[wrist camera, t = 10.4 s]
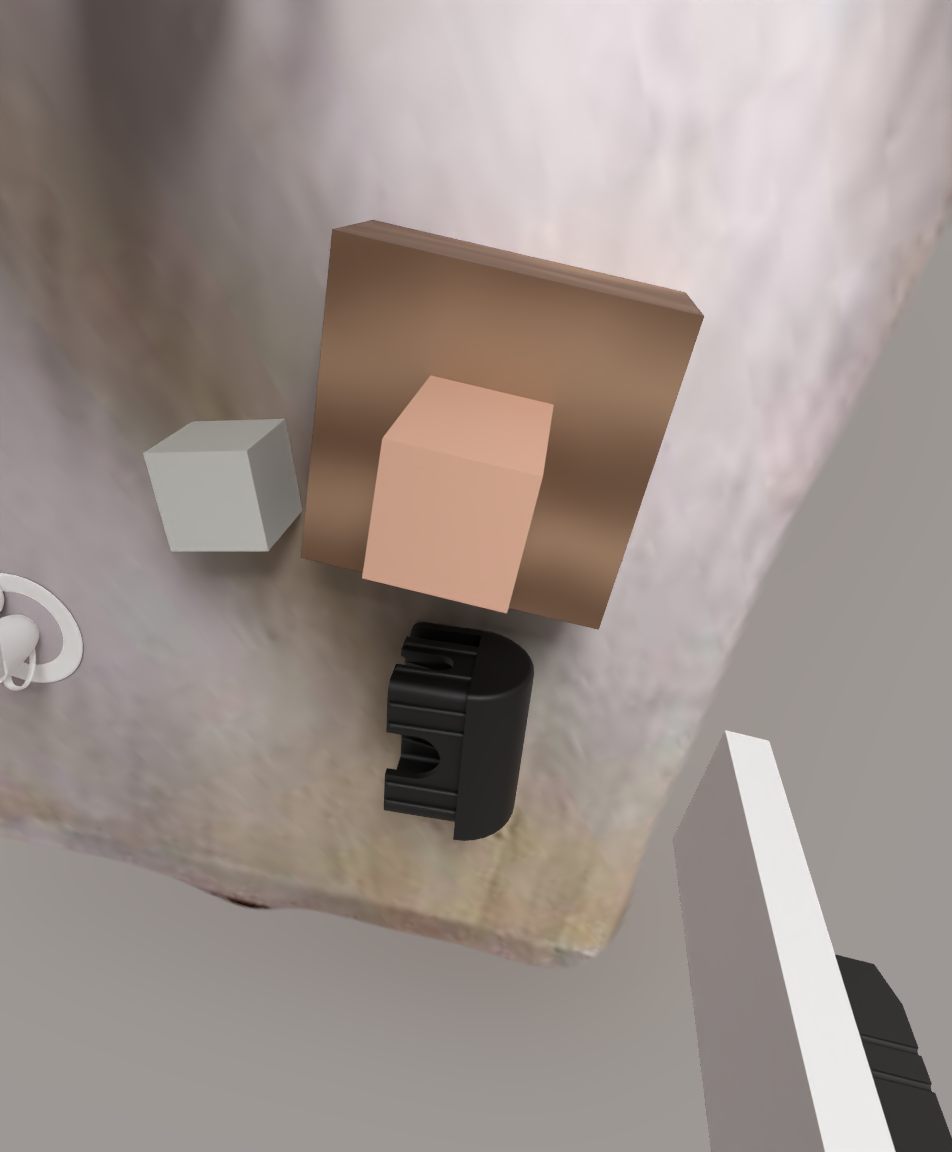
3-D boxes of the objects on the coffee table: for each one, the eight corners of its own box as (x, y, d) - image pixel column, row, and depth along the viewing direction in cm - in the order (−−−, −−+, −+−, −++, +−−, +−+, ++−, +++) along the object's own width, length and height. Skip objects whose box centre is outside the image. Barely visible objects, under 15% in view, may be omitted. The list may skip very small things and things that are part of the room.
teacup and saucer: (-63, 559, 46) (-118, 592, 42) (55, 555, 44) (8, 588, 41) (-6, 678, 50) (-52, 717, 46) (104, 677, 48) (65, 718, 45)
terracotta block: (430, 375, 30) (382, 438, 23) (553, 404, 30) (542, 476, 23) (411, 489, 32) (361, 578, 25) (524, 517, 32) (507, 613, 25)
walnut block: (372, 220, 33) (332, 229, 28) (685, 292, 33) (704, 316, 28) (338, 506, 40) (300, 557, 35) (597, 568, 40) (598, 629, 34)
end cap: (518, 765, 47) (508, 851, 41) (406, 747, 47) (380, 830, 41) (538, 630, 42) (530, 706, 36) (413, 612, 42) (385, 684, 37)
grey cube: (193, 421, 39) (142, 453, 34) (285, 418, 38) (246, 450, 34) (215, 510, 41) (170, 551, 37) (302, 509, 40) (268, 551, 36)
